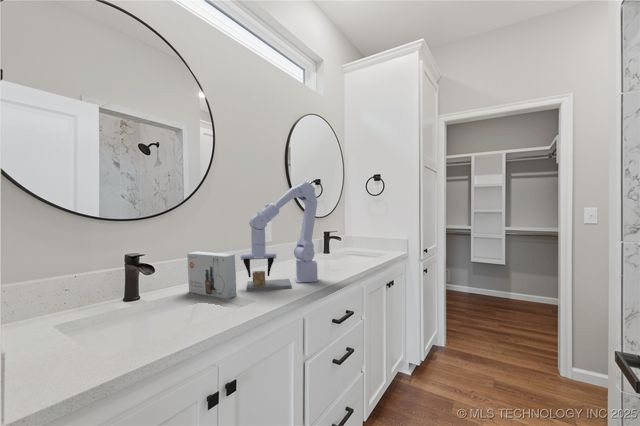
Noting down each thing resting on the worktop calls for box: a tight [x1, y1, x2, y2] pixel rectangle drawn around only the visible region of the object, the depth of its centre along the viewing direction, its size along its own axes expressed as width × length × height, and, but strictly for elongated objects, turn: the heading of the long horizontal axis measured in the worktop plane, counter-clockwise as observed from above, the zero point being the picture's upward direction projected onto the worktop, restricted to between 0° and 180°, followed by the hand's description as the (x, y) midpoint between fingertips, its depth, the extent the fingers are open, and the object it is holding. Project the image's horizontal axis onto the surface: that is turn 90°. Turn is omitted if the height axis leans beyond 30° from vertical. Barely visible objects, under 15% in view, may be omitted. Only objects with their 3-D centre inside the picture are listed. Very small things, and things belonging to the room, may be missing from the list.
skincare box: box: [186, 251, 238, 300], centre depth 113 cm, size 21×5×16 cm, turn 62°
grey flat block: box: [245, 270, 293, 293], centre depth 123 cm, size 18×12×7 cm, turn 101°
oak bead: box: [252, 270, 266, 286], centre depth 122 cm, size 5×5×5 cm
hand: (259, 276), depth 122 cm, fingers open, 7 cm apart
